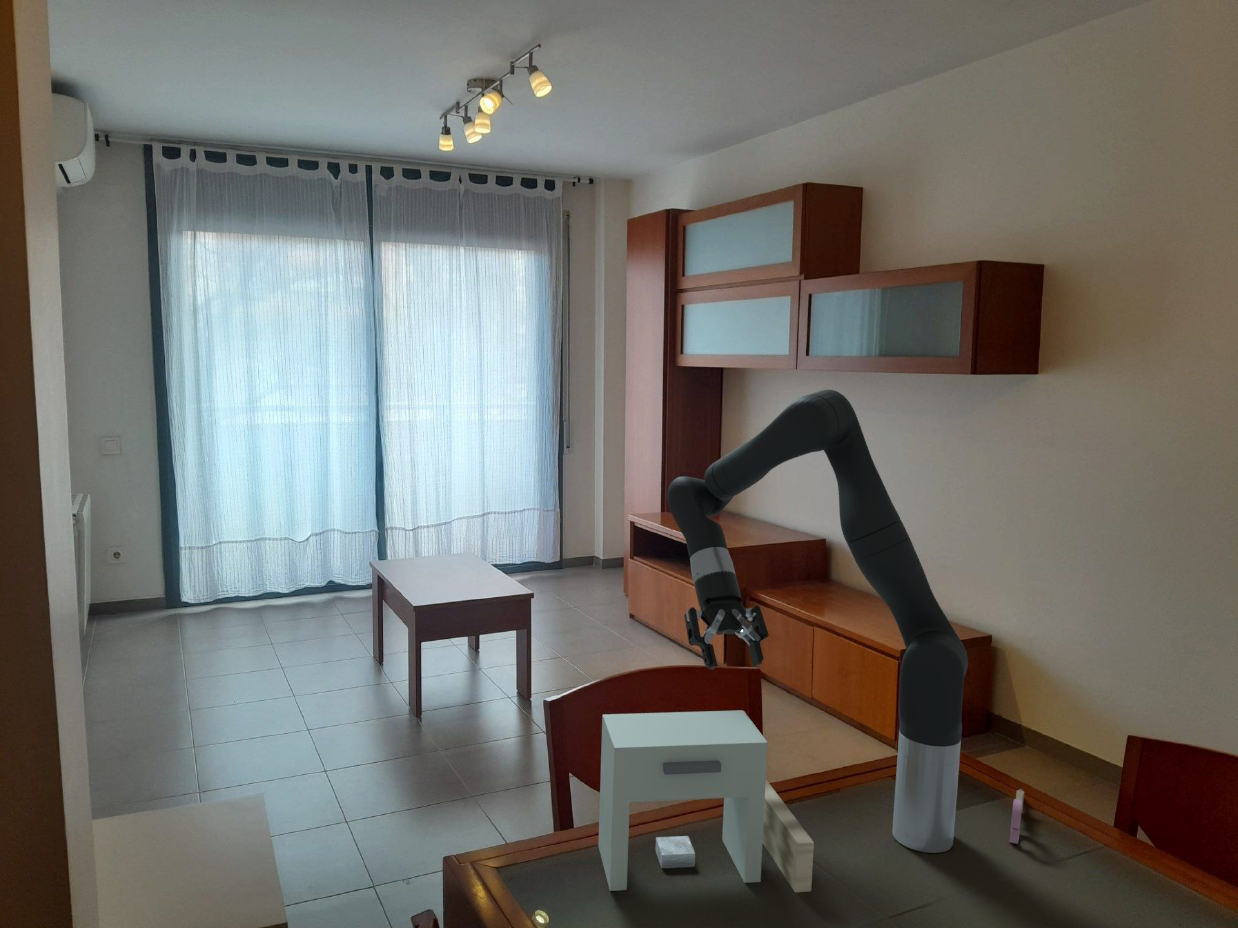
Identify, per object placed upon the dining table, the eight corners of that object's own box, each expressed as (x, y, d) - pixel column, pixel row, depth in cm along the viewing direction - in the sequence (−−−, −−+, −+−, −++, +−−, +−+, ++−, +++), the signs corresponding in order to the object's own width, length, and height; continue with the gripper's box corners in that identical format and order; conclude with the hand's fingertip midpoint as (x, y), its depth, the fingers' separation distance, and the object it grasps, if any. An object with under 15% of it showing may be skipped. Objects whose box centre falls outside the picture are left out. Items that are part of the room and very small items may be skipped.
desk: (598, 846, 141) (602, 714, 138) (737, 838, 144) (743, 710, 142) (611, 895, 128) (615, 751, 125) (763, 886, 131) (770, 745, 129)
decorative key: (1022, 814, 161) (1017, 848, 144) (1015, 812, 162) (1008, 846, 144) (1026, 776, 162) (1021, 805, 144) (1019, 774, 162) (1013, 803, 144)
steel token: (655, 852, 140) (655, 837, 140) (687, 850, 141) (688, 835, 141) (661, 870, 135) (661, 854, 135) (694, 868, 136) (695, 853, 136)
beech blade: (745, 817, 152) (747, 773, 151) (759, 816, 152) (761, 773, 151) (795, 893, 130) (797, 843, 129) (811, 892, 131) (813, 842, 130)
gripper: (686, 569, 157) (706, 661, 149) (759, 568, 162) (782, 656, 154) (670, 588, 163) (688, 676, 155) (741, 586, 168) (762, 671, 160)
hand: (735, 666), depth 154 cm, fingers open, 8 cm apart
